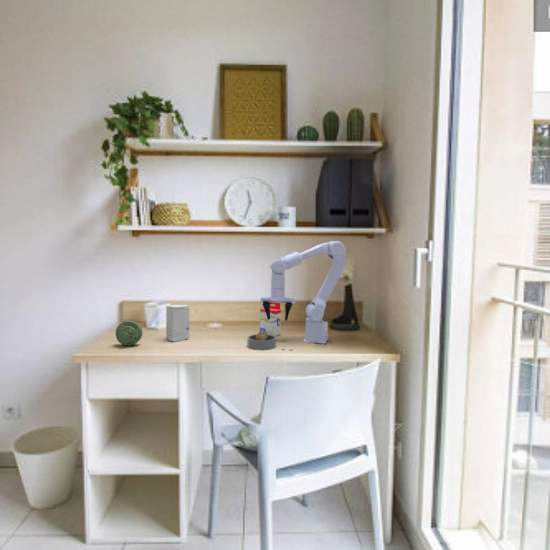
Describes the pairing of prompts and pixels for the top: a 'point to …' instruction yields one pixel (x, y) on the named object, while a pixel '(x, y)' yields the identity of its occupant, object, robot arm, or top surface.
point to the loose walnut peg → (264, 334)
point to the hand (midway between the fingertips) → (277, 319)
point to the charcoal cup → (261, 343)
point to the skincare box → (177, 322)
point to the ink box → (271, 320)
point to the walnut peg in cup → (260, 337)
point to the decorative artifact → (129, 332)
